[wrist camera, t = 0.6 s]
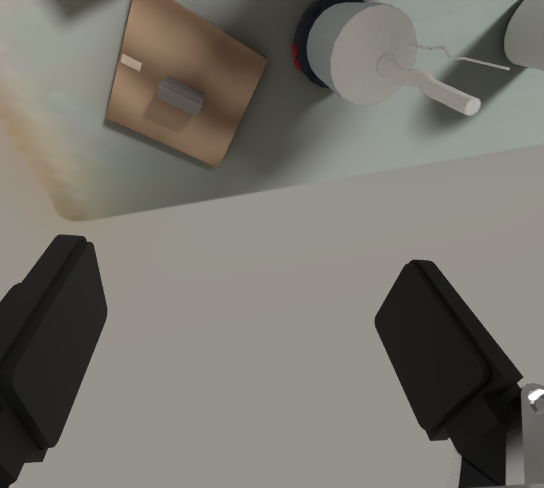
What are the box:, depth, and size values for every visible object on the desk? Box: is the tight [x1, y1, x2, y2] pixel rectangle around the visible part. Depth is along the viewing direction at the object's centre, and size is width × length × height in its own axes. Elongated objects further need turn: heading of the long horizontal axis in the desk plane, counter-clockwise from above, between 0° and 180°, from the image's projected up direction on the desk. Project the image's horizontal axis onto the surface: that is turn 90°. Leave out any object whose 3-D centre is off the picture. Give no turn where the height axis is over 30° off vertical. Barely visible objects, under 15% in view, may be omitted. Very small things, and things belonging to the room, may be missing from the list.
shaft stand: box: [106, 0, 268, 168], centre depth 31 cm, size 13×13×7 cm
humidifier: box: [292, 0, 510, 116], centre depth 23 cm, size 8×8×25 cm
